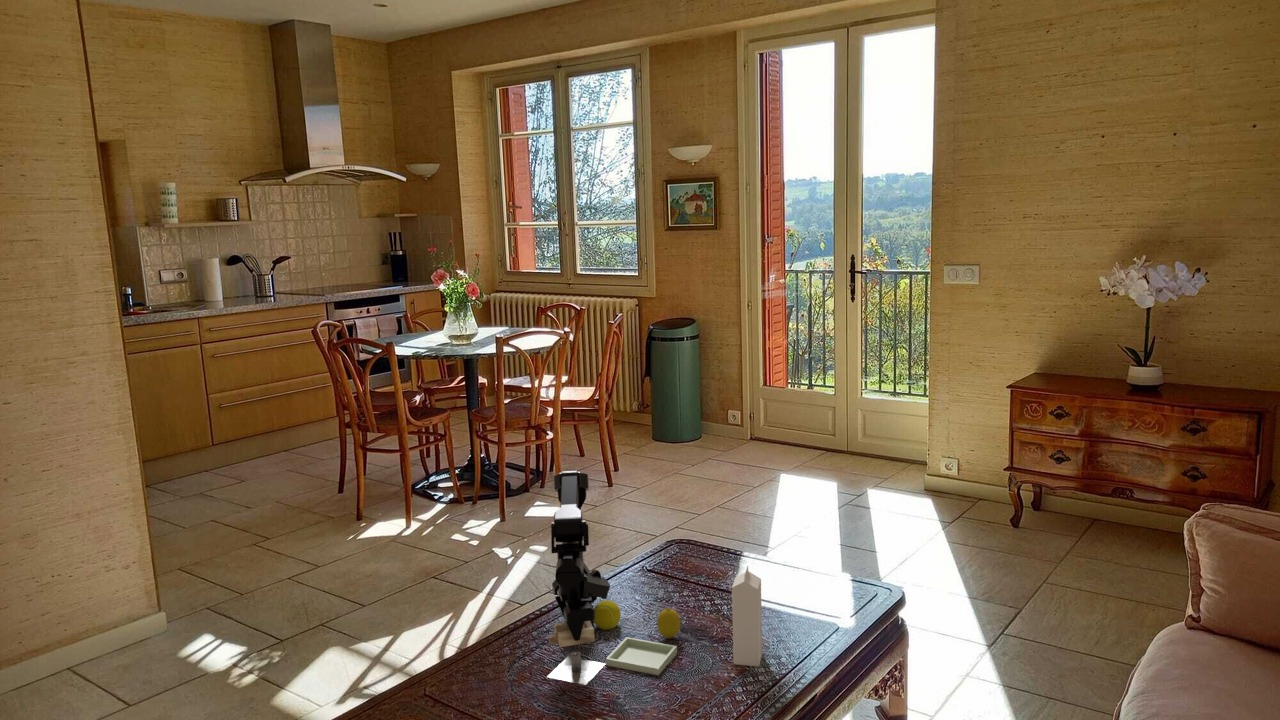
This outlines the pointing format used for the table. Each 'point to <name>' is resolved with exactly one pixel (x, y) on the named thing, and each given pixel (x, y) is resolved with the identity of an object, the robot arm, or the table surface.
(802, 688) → the table surface
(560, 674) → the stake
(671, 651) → the tray
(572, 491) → the robot arm
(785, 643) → the table surface
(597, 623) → the tennis ball
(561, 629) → the wooden rectangular frame
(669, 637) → the lemon
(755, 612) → the milk
